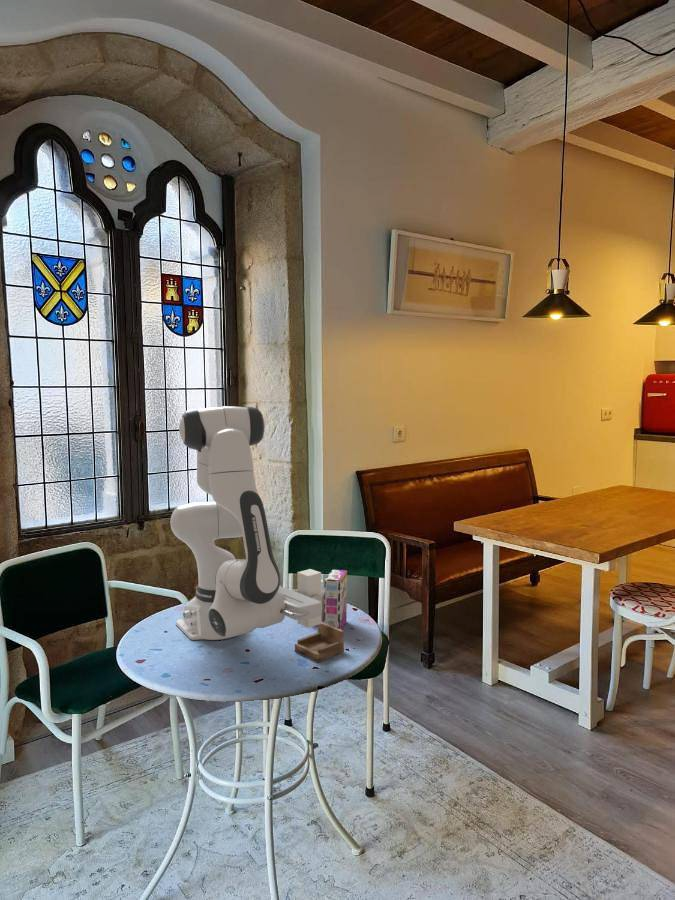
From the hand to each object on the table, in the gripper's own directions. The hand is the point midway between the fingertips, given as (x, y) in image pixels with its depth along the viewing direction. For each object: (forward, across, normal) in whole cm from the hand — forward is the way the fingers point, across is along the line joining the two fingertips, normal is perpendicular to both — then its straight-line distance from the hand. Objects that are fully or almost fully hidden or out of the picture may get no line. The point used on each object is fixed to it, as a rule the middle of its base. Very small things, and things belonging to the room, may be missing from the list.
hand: (312, 594), depth 169 cm
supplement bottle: (+17, +18, +17) cm, 30 cm away
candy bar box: (+18, +10, +17) cm, 27 cm away
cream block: (-1, 0, +8) cm, 8 cm away
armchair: (+3, 0, +17) cm, 17 cm away
